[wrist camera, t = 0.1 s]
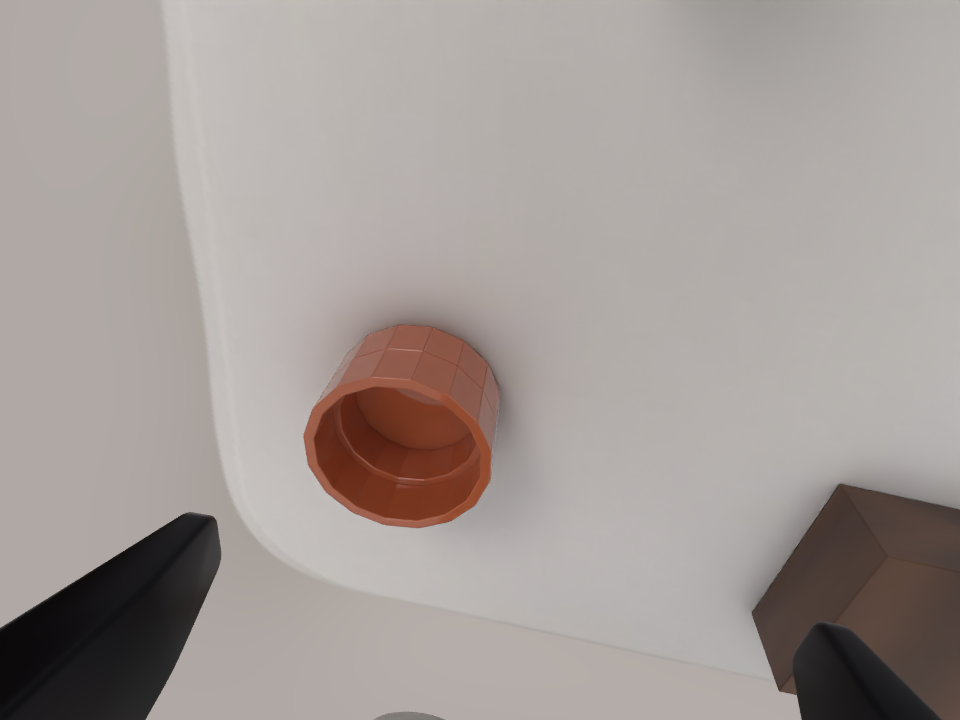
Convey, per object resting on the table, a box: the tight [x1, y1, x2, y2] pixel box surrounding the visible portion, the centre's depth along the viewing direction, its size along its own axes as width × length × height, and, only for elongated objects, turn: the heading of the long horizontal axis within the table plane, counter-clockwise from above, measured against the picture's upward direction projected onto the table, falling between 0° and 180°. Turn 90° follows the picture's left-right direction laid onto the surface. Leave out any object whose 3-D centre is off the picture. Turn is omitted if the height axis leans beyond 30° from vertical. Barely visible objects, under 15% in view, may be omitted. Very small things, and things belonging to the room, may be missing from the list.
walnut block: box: [752, 484, 960, 720], centre depth 25 cm, size 9×9×4 cm
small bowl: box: [304, 325, 500, 528], centre depth 23 cm, size 7×7×4 cm
